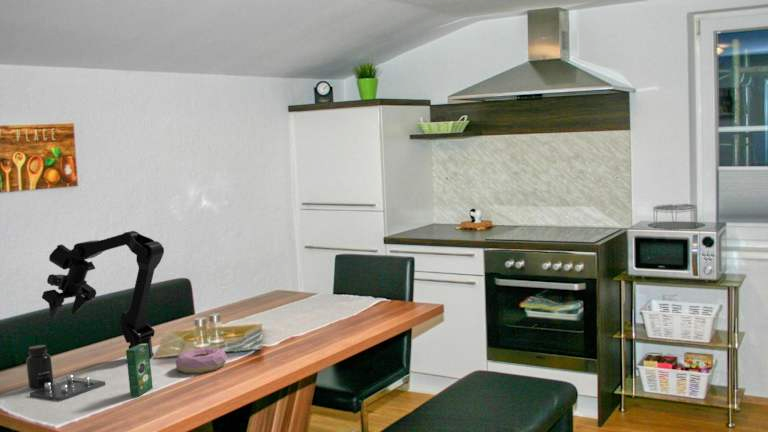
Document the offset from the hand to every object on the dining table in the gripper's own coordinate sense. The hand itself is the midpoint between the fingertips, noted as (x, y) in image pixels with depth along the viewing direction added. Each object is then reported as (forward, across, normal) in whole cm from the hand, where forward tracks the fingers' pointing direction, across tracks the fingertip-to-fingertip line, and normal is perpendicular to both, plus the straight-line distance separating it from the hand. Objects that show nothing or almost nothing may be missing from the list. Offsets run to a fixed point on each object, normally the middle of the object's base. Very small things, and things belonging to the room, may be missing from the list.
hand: (62, 316), depth 270 cm
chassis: (-2, +30, +35) cm, 46 cm away
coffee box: (-14, +27, +57) cm, 65 cm away
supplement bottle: (+5, +28, +24) cm, 37 cm away
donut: (-16, +3, +59) cm, 61 cm away
